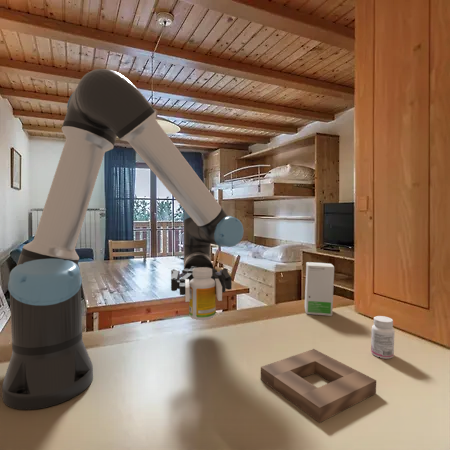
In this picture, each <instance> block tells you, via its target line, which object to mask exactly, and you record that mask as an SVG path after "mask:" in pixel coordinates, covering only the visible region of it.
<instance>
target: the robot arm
mask: <svg viewBox="0 0 450 450" xmlns="http://www.w3.org/2000/svg"><path fill="white" fill-rule="evenodd" d="M156 117H157V111H156V110H155V109H154V108H153V106H152V105H151V103H150V102H149V101H148V99H146V97H145V96H144V95H143V93H142V92H141V91H140V90H139V89H138V88H137V87H136V86H135V84H133V82H131V80H129V79H128V78H127V77H125V75H123V74H121V73H120V72H117V71H115V70H112V69H108V68H97V69H93V70H91V71H89V72H86V73H85V74H84V75H83V76H82V78H81V79H80V81H79V82H78V85H77V86H76V88H75V90H74V91H73V92H72V93H71V95H70V97H69V99H68V101H67V105H66V114H65V117H64V120H63V123H62V125H61V132H62V133H63V135H64V137H65V142H64V145H63V147H62V151H61V154H60V157H59V161H58V163H57V167H56V170H55V173H54V176H53V179H52V182H51V185H50V188H49V191H48V194H47V198H46V200H45V203H44V206H43V209H42V213H41V216H40V218H39V222H38V225H37V229H36V231H35V234H34V237H33V240H31V241H29V242H28V243H26V244H24V245H23V246H22V250H21V251H20V255H19V257H18V260H17V264H16V266H15V267H13V268H12V269H11V271H10V272H9V277H8V278H9V279H8V283H7V289H8V292H9V304H10V305H9V307H10V327H11V346H12V347H11V348H12V349H11V351H12V353H11V355H10V356H11V357H10V360H9V361H8V362H9V363H8V366H7V369H6V373H5V376H4V379H3V381H2V387H1V392H2V395H1V397H2V401H3V403H4V404H5V405H7V406H8V407H10V408H12V409H15V410H16V409H18V410H36V409H37V410H39V409H43V408H49V407H51V406H52V407H53V406H56V405H59V404H61V403H65V402H67V401H69V400H71V399H73V398H75V397H77V396H79V395H80V394H81V393H83V392H84V391H85V390H86V389H88V388H89V387H90V385H91V384H92V381H93V379H94V366H93V363H92V359H91V358H90V356H89V353H88V350H87V347H86V346H85V342H84V340H83V339H84V338H83V318H82V317H83V315H82V313H83V310H82V282H83V278H82V275H81V270H80V267H79V265H78V263H79V260H80V257H79V255H78V253H77V251H76V247H77V242H78V239H79V237H80V233H81V231H82V227H83V223H84V221H85V217H86V214H87V211H88V208H89V204H90V201H91V198H92V195H93V191H94V189H95V185H96V182H97V179H98V176H99V172H100V169H101V167H102V162H103V160H104V159H103V158H104V156H105V153H106V152H108V151H111V150H113V149H114V148H115V147H114V146H115V144H116V140H117V139H119V140H120V141H123V142H128V144H129V145H130V146H131V147H132V148H133V150H134V152H136V153H137V154H138V155H139V157H140V158H141V159H142V161H143V162H144V163H145V164H146V165H147V167H148V168H149V169H150V170H151V171H152V173H153V174H154V175H155V177H157V178H158V180H159V181H160V183H162V185H163V186H164V187H165V188H166V189H167V191H168V192H169V193H170V194H171V196H172V197H173V198H174V199H175V201H176V202H177V203H178V204H179V205H180V207H181V208H182V209H183V210H184V213H183V269H182V270H181V271H180V270H177V269H175V268H173V269H171V270H170V274H171V275H170V291H172V292H175V291H177V290H179V295H180V296H185V297H184V298H185V303H187V302H188V303H189V302H190V287H189V282H190V280H192V279H193V278H194V277H193V275H192V272H193V269H194V268H199V267H207V268H211V269H212V276H211V278H212V279H214V281H215V283H216V299H217V301H219V302H220V301H221V302H222V301H223V293H226V291H227V290H228V291H229V290H232V285H233V284H232V279H233V278H232V276H231V274H229V273H228V272H229V270H228V268H223V269H220V270H219V271H218V270H217V269H216V268H215V267H214V264H213V262H212V260H211V245H215V246H218V247H221V248H225V247H226V248H233V247H235V246H237V245H239V243H240V242H241V241H242V239H243V237H244V233H245V232H244V225H243V223H242V222H241V220H240V219H239V218H237V217H235V216H231V215H228V214H227V212H226V211H225V210H224V208H223V207H222V206H221V204H220V203H219V202H218V201H217V199H216V198H215V197H214V195H213V194H212V193H211V191H210V190H209V189H208V187H207V186H206V185H205V183H204V182H203V180H201V178H200V176H198V174H197V172H195V170H194V169H193V167H192V166H191V165H190V164H189V162H188V161H187V159H186V158H185V157H184V156H183V154H182V153H181V152H180V150H179V149H178V148H177V146H176V145H175V143H174V142H173V141H172V140H171V138H170V137H169V135H168V134H167V133H166V132H165V130H164V129H163V127H162V126H161V125H160V124H159V122H158V120H156V119H157V118H156Z"/></svg>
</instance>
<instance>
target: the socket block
mask: <svg viewBox="0 0 450 450" xmlns="http://www.w3.org/2000/svg"><path fill="white" fill-rule="evenodd" d="M312 374H317V376H320V377H322V378H324V379H325V380H327V381H328V383H325V384H323V385H321V386H319V387H318V386H315V385H314V384H312V383H311V382H310V381H308V380H306V379H305V378H306V377H308V376H310V375H312ZM260 380H261V381H263V382H264V383H265V384H267V385H268V386H269V387H270V388H272V389H273V390H275V391H276V392H277V393H278V394H280V395H281V396H283V397H284V398H285V399H287V400H288V401H289V402H291V403H292V404H294V405H295V406H296V407H297V408H299V409H300V410H302V411H303V412H305V413H306V414H307V415H309V416H310V417H311V418H312V419H313V420H315V421H316V422H318V423H321V422H324V421H325V420H327V419H329V418H331V417H333V416H336V415H338V414H339V413H341V412H343V411H345V410H347V409H349V408H351V407H353V406H355V405H356V404H359V403H360V402H362V401H364V400H366V399H368V398H369V397H371V396H373V395H376V394H377V379H375V378H373V377H370V376H369V375H367V374H365V373H363V372H360V371H359V370H356V369H355V368H352V367H350V366H349V365H347V364H345V363H343V362H341V361H339V360H337V359H335V358H333V357H331V356H329V355H326V354H325V353H324V352H321V351H319V350H317V349H315V348H313V349H309V350H306V351H303V352H301V353H297V354H295V355H291V356H289V357H286V358H283V359H280V360H277V361H274V362H272V363H271V362H270V363H269V364H265V365H263V366H260Z"/></svg>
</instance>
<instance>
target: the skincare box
mask: <svg viewBox="0 0 450 450" xmlns="http://www.w3.org/2000/svg"><path fill="white" fill-rule="evenodd" d="M305 266H306V267H305V288H304V289H305V291H304V311H305V313H306V315H313V316H315V315H316V316H318V315H319V316H326V317H327V316H329V317H333V308H334V305H333V304H334V286H335V285H334V283H335V282H334V281H335V266H334V265H333V264H332V263H330V262H329V263H328V262H327V263H326V262H315V261H314V262H312V261H307V262H305Z"/></svg>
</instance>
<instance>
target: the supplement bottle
mask: <svg viewBox="0 0 450 450" xmlns="http://www.w3.org/2000/svg"><path fill="white" fill-rule="evenodd" d="M192 275H193V277H194V278H193V279H192V280H190V282H189V287H190V302H188V315H189V317H190V318H191V319H193V320H195V321H197V320H198V321H206V320H212V319H213V318H215V316H216V299H217V296H216V283H215V281H214V279H212V278H211V276H212V269H211V268H207V267H199V268H194V269H193V272H192Z"/></svg>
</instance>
